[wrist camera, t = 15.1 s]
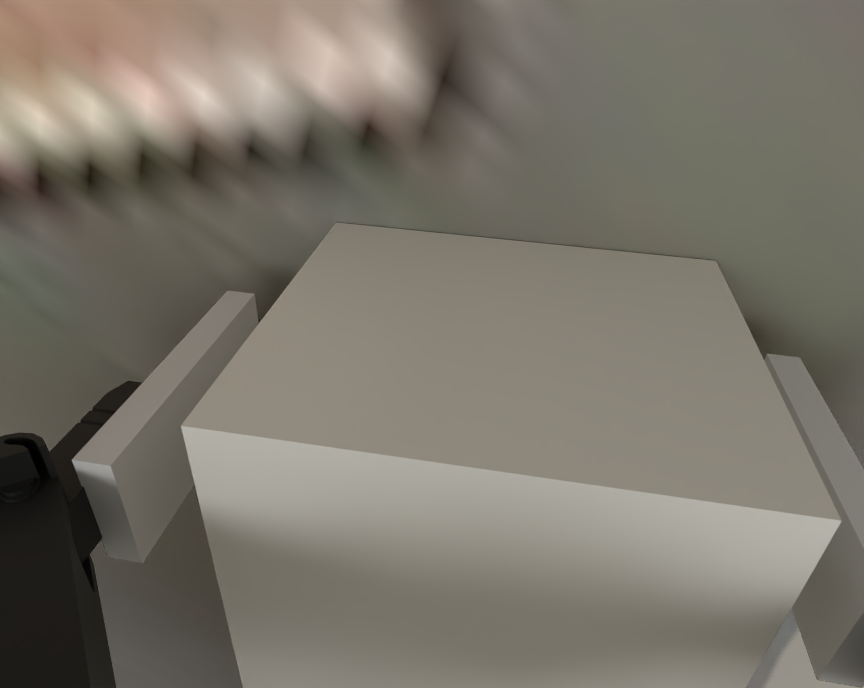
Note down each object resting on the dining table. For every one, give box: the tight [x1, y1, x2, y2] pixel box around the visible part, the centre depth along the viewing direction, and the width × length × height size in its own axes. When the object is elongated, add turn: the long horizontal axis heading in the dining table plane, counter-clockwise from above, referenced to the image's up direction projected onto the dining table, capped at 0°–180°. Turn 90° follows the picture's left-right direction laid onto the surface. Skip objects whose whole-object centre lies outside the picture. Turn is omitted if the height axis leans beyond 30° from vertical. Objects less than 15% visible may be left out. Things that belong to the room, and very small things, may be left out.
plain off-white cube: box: [181, 223, 842, 688], centre depth 16 cm, size 10×10×9 cm
